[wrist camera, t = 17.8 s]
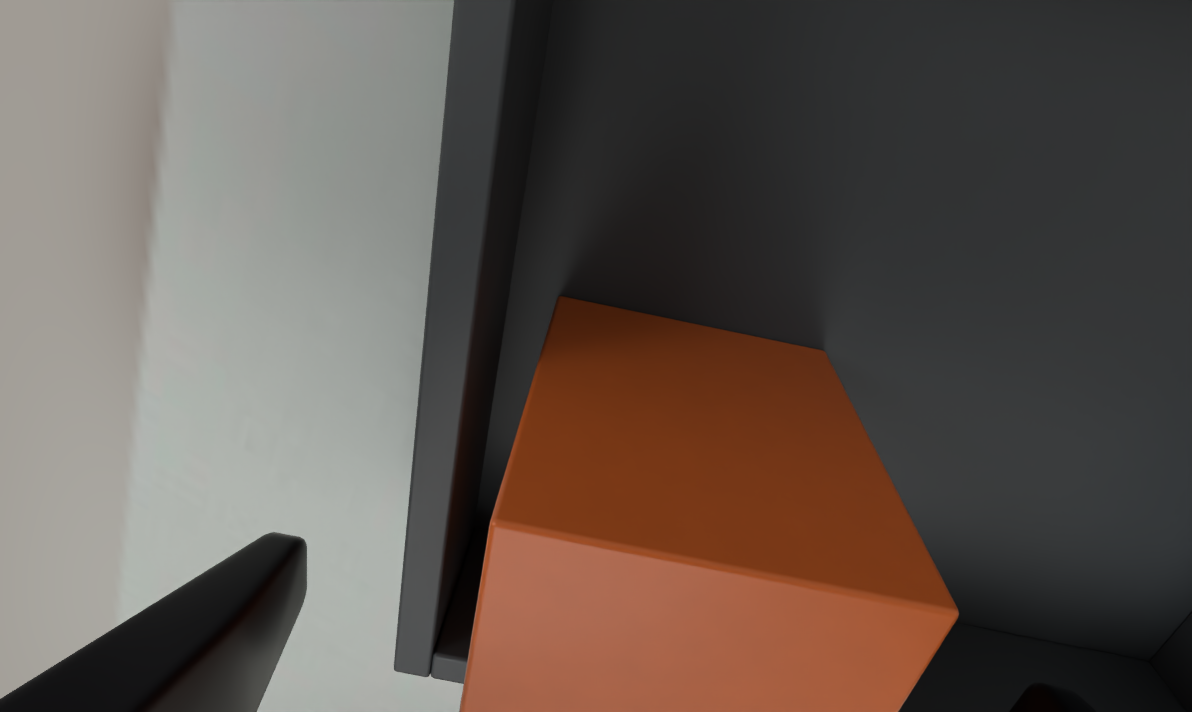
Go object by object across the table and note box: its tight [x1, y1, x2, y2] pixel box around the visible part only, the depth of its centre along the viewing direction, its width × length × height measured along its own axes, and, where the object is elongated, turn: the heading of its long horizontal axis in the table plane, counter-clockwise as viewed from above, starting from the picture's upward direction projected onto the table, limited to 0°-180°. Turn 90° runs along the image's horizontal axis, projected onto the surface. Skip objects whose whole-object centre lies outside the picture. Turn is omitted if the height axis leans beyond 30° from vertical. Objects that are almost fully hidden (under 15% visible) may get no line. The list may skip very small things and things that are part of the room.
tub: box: [394, 0, 1192, 712], centre depth 10 cm, size 15×13×4 cm
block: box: [459, 296, 959, 712], centre depth 10 cm, size 4×4×6 cm
